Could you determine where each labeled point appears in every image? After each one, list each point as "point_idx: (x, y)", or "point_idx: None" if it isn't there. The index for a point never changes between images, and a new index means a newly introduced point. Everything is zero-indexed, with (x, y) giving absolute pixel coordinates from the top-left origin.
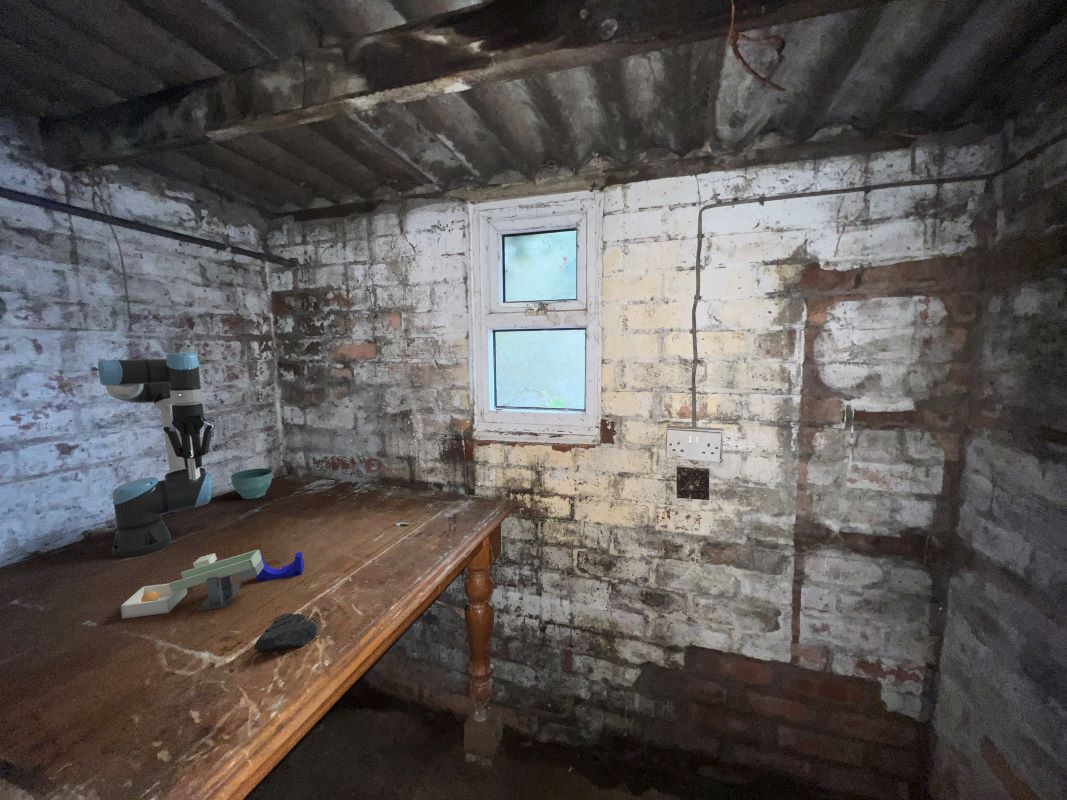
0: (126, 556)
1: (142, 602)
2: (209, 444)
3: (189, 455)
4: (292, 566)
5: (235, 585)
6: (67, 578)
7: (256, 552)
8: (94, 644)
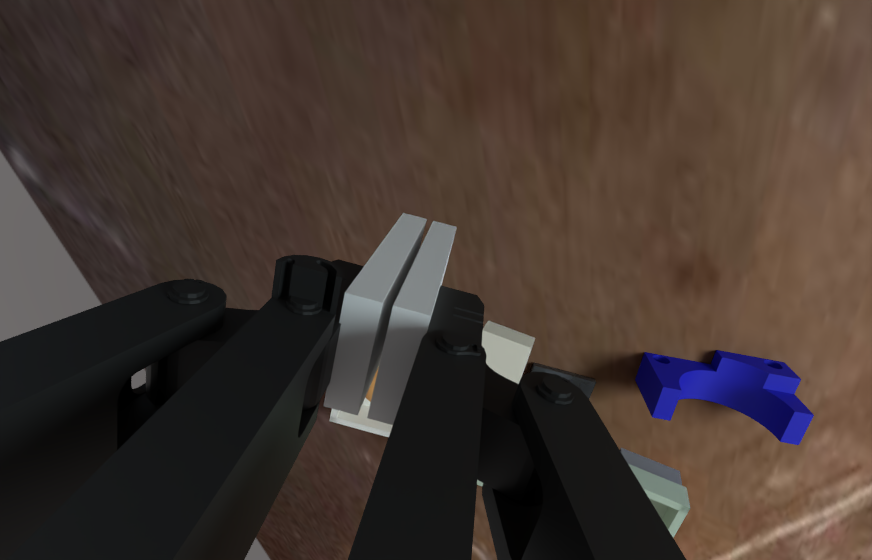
0: None
1: (375, 429)
2: (660, 528)
3: (323, 374)
4: (754, 418)
5: (580, 388)
6: (62, 48)
7: (678, 527)
8: (326, 472)
